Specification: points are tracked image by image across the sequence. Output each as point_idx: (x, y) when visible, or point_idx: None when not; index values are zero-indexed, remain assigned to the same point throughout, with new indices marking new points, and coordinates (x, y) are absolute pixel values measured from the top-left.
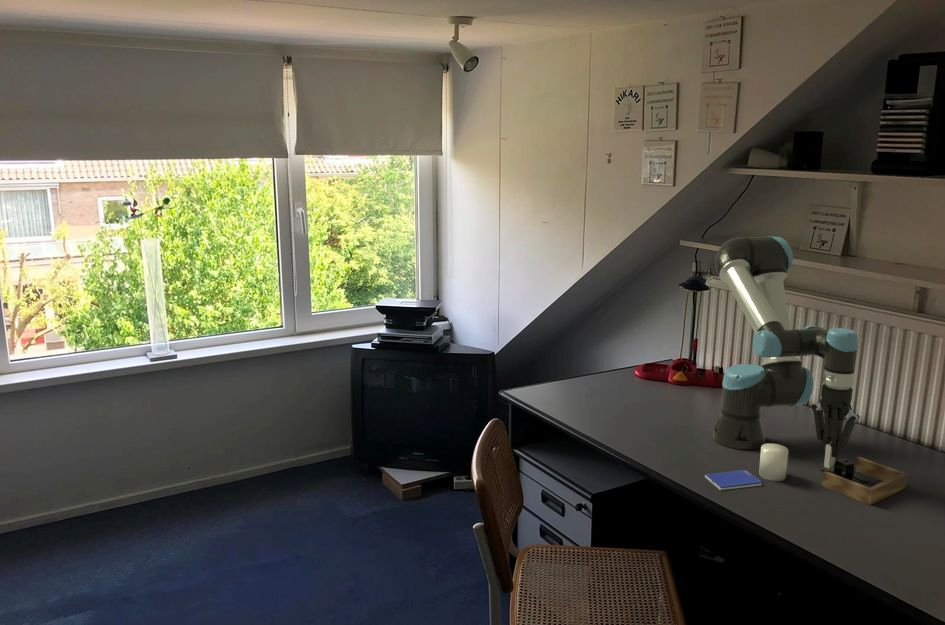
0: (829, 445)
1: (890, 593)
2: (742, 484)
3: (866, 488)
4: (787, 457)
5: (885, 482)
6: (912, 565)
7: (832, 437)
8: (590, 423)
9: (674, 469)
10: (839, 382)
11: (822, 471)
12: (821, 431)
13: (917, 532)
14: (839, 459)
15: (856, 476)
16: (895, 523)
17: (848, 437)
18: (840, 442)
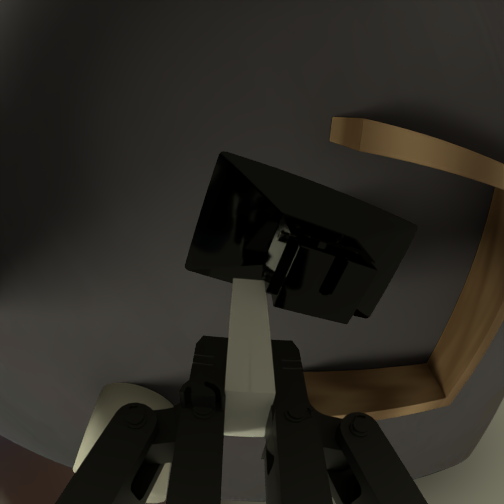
0: (248, 434)
1: (436, 471)
2: None
3: (437, 407)
4: (162, 471)
5: (492, 332)
6: (467, 436)
7: (269, 498)
8: None
9: (54, 452)
10: None
11: (214, 277)
12: (109, 454)
13: (497, 377)
14: (287, 283)
15: (361, 213)
16: (470, 385)
17: (401, 483)
18: (339, 476)
